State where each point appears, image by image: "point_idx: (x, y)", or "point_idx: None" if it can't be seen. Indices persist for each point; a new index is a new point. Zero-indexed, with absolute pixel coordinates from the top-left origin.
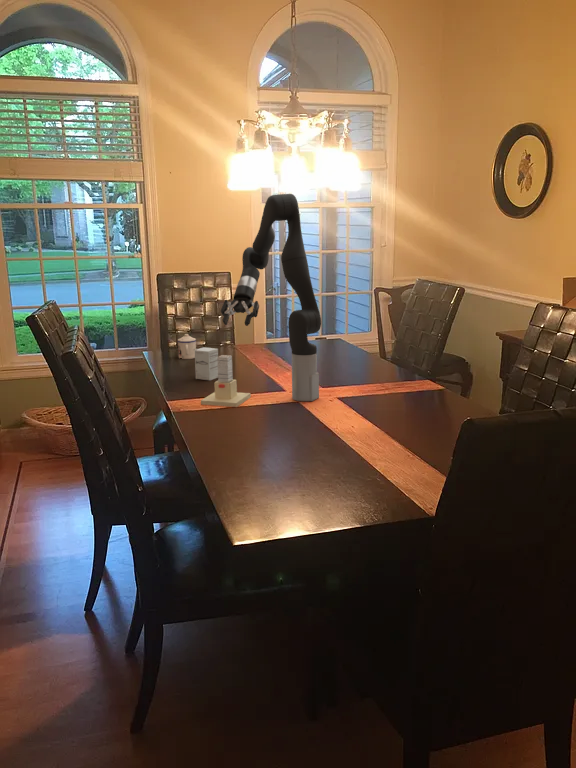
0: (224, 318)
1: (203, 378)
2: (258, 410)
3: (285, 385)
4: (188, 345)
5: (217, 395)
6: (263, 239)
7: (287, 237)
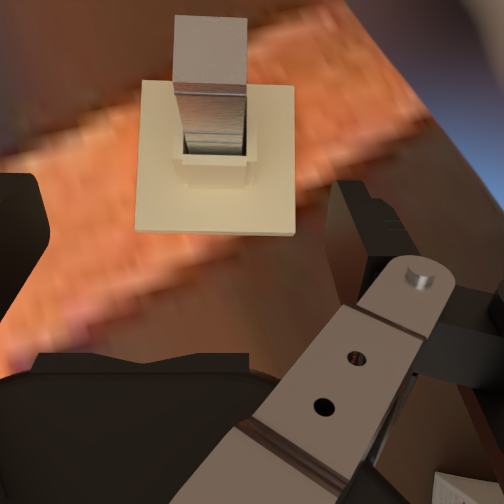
0: (373, 202)
1: (473, 479)
2: (50, 66)
3: None
4: None
5: None
6: None
7: None
